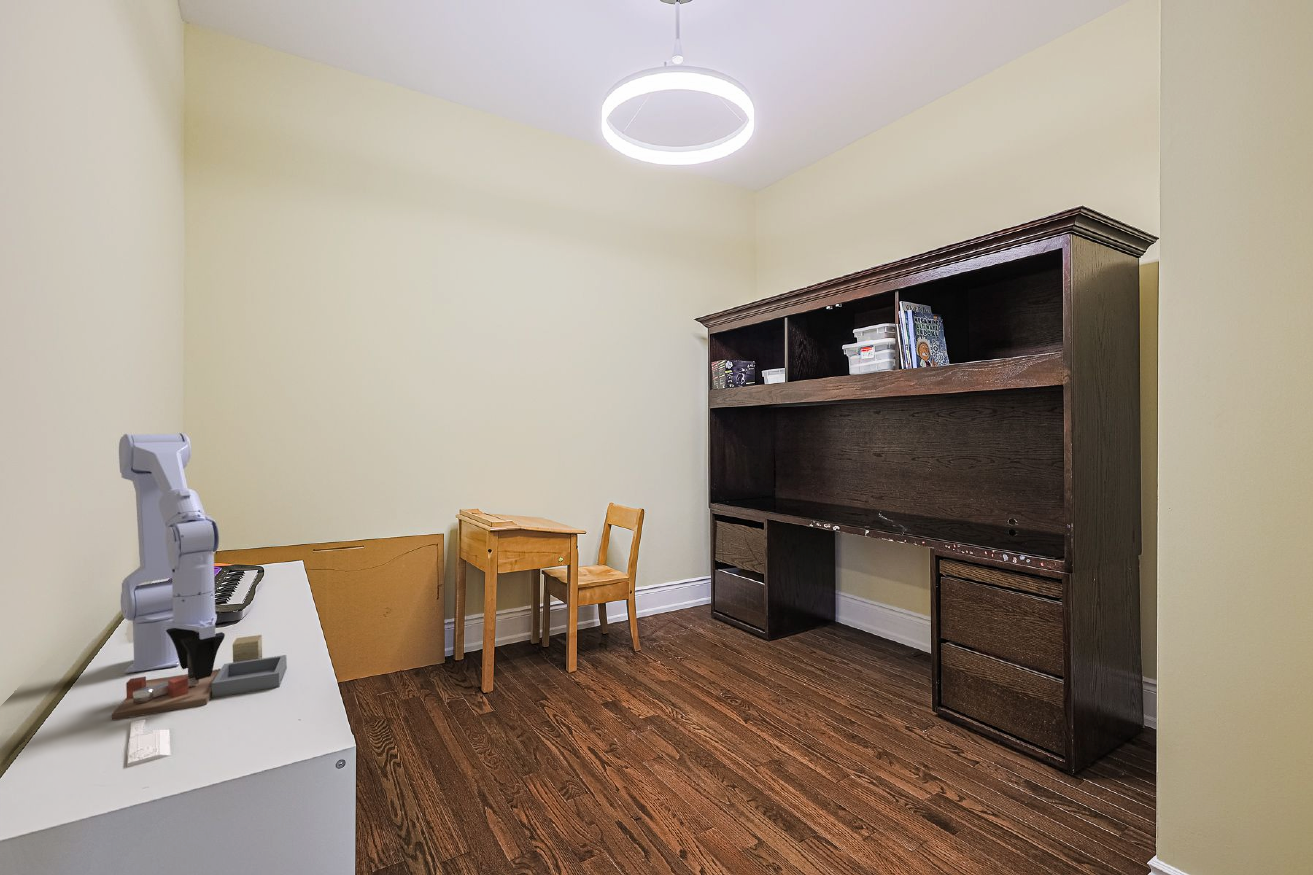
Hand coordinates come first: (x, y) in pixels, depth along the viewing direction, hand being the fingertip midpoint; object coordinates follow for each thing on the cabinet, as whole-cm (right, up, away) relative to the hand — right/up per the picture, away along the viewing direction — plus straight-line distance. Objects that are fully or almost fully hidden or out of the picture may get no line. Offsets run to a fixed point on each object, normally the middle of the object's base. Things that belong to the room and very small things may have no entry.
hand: (196, 672), depth 105 cm
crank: (-3, -2, -3) cm, 4 cm away
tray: (+7, -3, +4) cm, 8 cm away
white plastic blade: (+6, -4, -16) cm, 17 cm away
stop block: (+1, -3, +12) cm, 12 cm away
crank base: (-3, -4, -1) cm, 5 cm away
